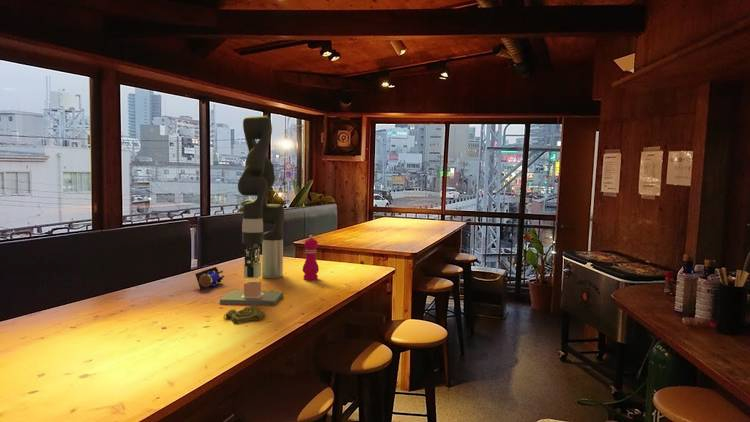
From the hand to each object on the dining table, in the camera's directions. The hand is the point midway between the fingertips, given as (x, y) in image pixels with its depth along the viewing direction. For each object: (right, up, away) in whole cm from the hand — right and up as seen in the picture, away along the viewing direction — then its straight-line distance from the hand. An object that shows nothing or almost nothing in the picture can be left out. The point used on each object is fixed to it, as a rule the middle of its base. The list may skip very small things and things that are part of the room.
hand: (252, 275), depth 184 cm
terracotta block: (0, -7, +1) cm, 7 cm away
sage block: (0, 0, 0) cm, 0 cm away
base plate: (0, -9, +1) cm, 9 cm away
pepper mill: (+17, -7, +38) cm, 42 cm away
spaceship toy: (+3, -12, -20) cm, 23 cm away
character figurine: (-22, -7, +20) cm, 31 cm away
